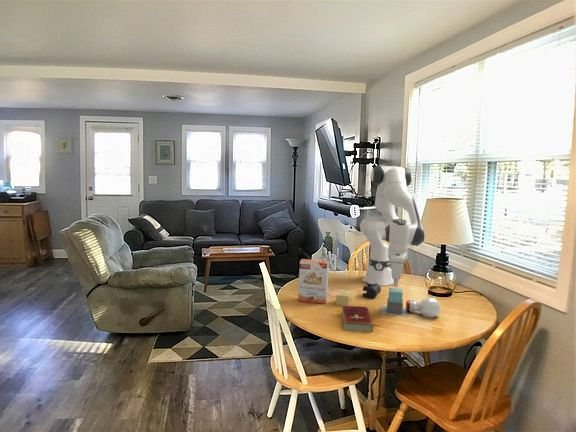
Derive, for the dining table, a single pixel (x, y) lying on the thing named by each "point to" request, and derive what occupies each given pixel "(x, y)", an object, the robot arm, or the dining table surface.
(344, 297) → the ochre brick
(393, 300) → the teal brick
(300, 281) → the cracker box
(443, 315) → the dining table surface
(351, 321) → the hardcover book
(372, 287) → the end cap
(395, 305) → the base brick
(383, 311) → the build plate
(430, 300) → the potion bottle
